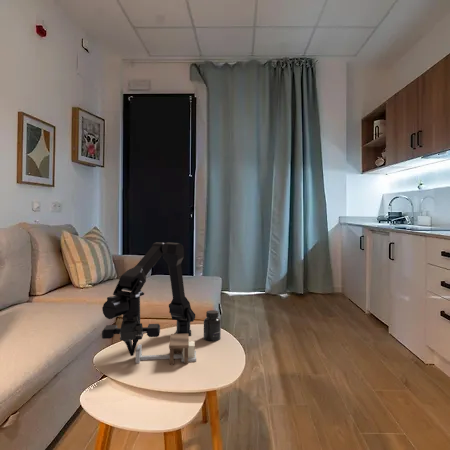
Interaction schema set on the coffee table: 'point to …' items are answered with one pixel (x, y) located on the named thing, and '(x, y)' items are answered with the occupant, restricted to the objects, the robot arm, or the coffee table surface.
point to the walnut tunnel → (179, 346)
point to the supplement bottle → (212, 326)
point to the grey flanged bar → (159, 356)
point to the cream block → (190, 349)
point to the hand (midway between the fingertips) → (132, 355)
